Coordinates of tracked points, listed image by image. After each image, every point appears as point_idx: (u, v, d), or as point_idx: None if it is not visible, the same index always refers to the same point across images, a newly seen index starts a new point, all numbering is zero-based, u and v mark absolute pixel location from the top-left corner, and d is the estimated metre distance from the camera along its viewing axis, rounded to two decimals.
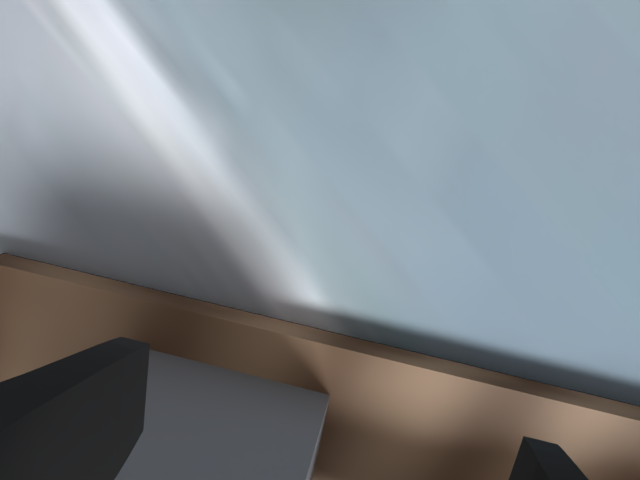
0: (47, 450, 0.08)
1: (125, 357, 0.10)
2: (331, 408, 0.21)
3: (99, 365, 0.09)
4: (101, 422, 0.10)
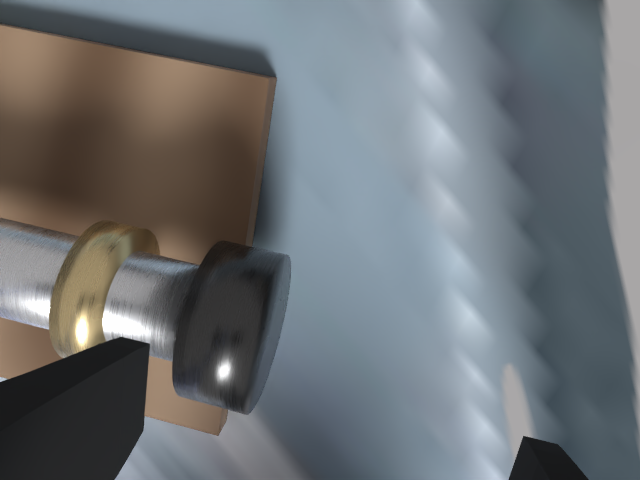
0: (47, 450, 0.08)
1: (125, 357, 0.10)
2: None
3: (99, 365, 0.09)
4: (101, 422, 0.10)
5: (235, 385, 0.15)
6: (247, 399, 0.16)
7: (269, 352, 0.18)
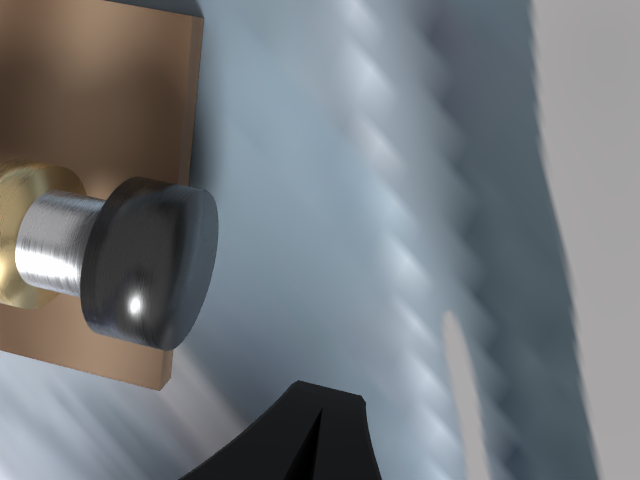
0: None
1: (322, 407, 0.09)
2: None
3: (306, 418, 0.09)
4: (303, 476, 0.09)
5: (143, 314, 0.15)
6: (161, 333, 0.16)
7: (193, 292, 0.18)
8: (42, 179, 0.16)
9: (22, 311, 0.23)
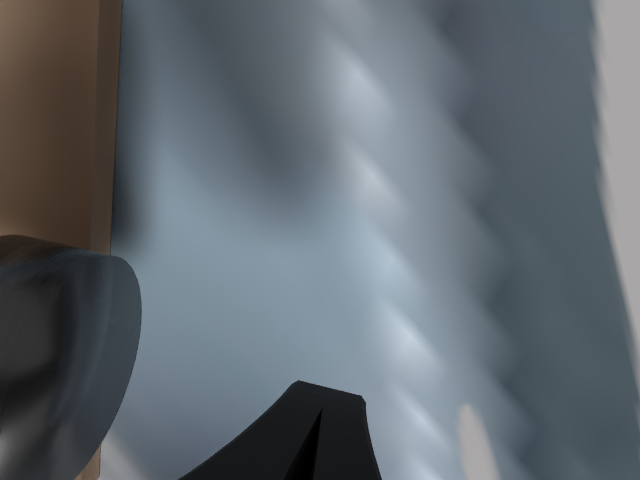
0: None
1: (322, 406, 0.09)
2: None
3: (306, 418, 0.09)
4: (303, 476, 0.09)
5: None
6: None
7: (97, 401, 0.12)
8: None
9: None
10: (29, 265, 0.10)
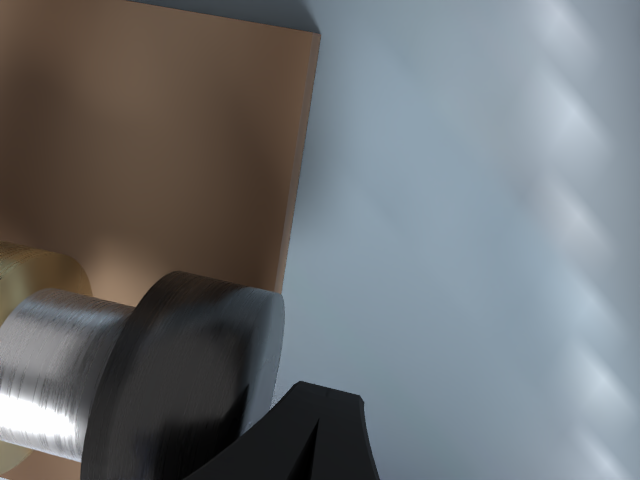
0: None
1: (324, 407, 0.09)
2: None
3: (309, 418, 0.09)
4: (306, 476, 0.09)
5: None
6: None
7: None
8: (20, 280, 0.10)
9: None
10: (211, 307, 0.10)
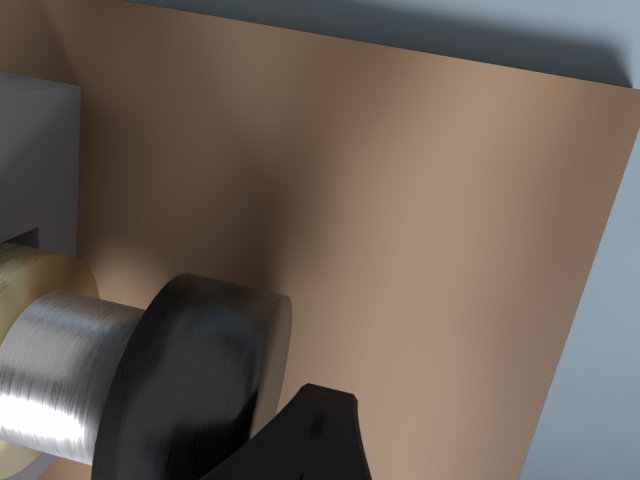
0: None
1: (333, 409, 0.09)
2: (86, 112, 0.13)
3: (318, 421, 0.09)
4: None
5: None
6: None
7: None
8: (29, 282, 0.10)
9: None
10: (221, 310, 0.10)
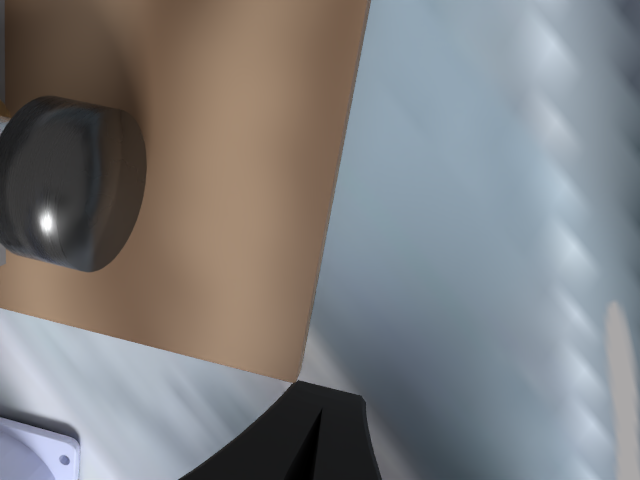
0: None
1: (322, 406, 0.09)
2: (8, 6, 0.19)
3: (306, 418, 0.09)
4: (303, 476, 0.09)
5: (50, 225, 0.15)
6: (74, 249, 0.15)
7: (116, 218, 0.17)
8: None
9: (151, 298, 0.21)
10: (75, 107, 0.15)
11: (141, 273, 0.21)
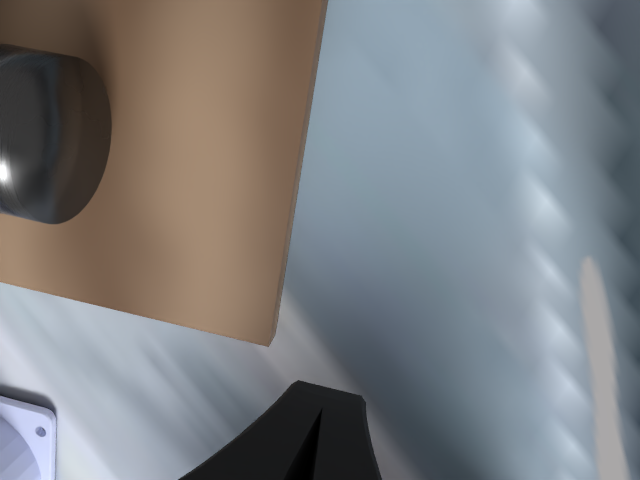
0: None
1: (322, 406, 0.09)
2: None
3: (306, 418, 0.09)
4: (303, 476, 0.09)
5: (4, 170, 0.14)
6: (31, 197, 0.15)
7: (79, 172, 0.17)
8: None
9: (122, 262, 0.21)
10: (31, 53, 0.15)
11: (111, 236, 0.21)
